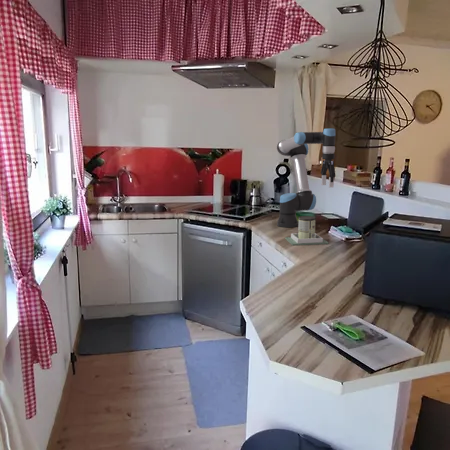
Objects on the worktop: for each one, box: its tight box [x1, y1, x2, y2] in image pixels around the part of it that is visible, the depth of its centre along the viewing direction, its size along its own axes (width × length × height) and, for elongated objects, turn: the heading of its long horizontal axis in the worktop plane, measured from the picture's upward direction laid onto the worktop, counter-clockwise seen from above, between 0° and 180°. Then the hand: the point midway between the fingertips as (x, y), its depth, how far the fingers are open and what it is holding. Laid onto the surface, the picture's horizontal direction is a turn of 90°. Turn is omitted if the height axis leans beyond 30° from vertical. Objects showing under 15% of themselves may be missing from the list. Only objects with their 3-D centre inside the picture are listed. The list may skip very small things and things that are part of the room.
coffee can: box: [297, 215, 316, 239], centre depth 249 cm, size 10×10×14 cm
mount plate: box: [284, 232, 329, 246], centre depth 250 cm, size 17×22×4 cm
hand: (327, 186), depth 264 cm, fingers open, 13 cm apart
